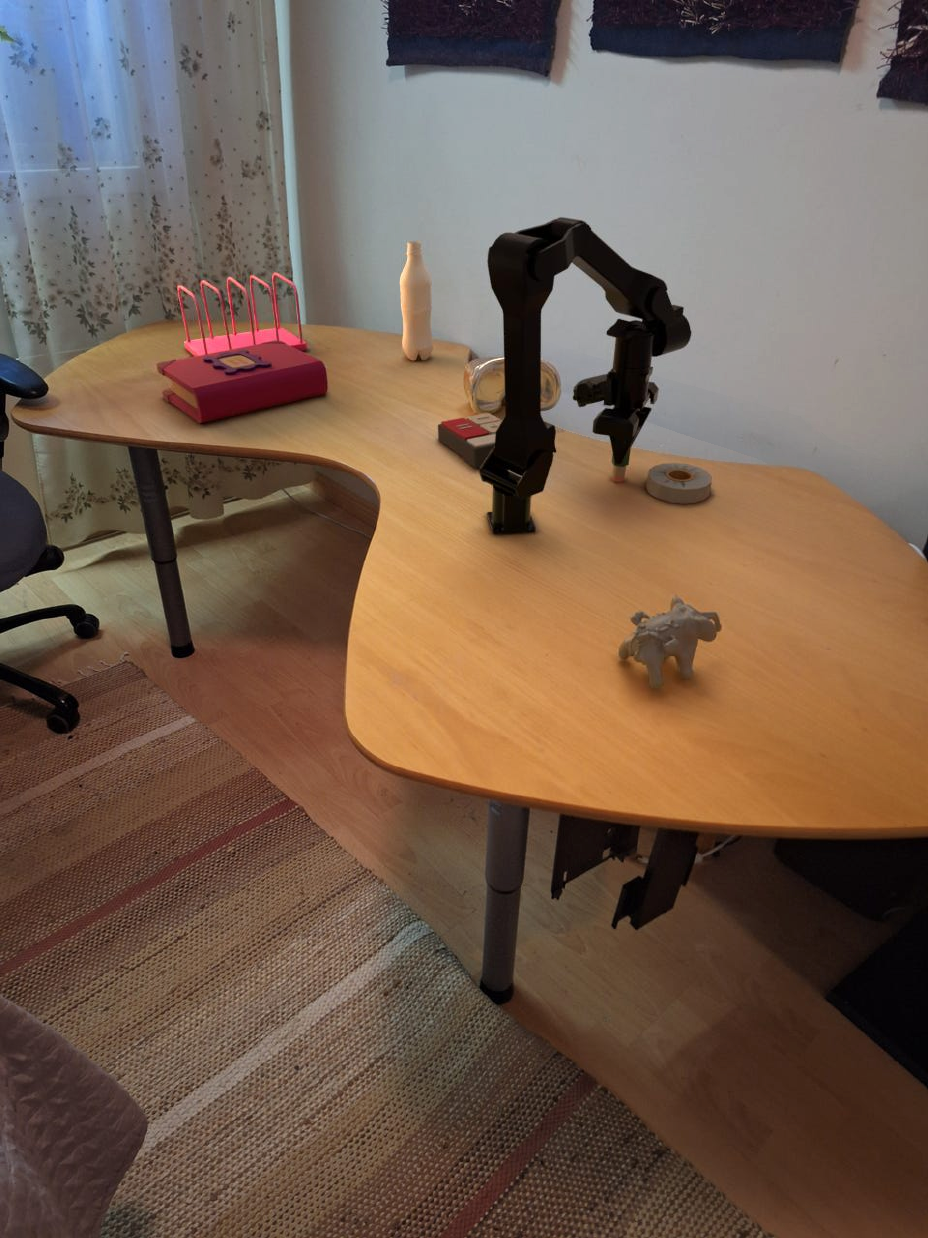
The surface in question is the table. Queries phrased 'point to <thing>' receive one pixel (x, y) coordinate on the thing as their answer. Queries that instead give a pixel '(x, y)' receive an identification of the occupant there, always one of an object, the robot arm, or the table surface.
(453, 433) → the calculator
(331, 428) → the table surface
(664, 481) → the tape
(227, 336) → the file sorter
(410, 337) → the water bottle
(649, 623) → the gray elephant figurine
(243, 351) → the book
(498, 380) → the diving goggles
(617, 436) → the robot arm
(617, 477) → the pencil
